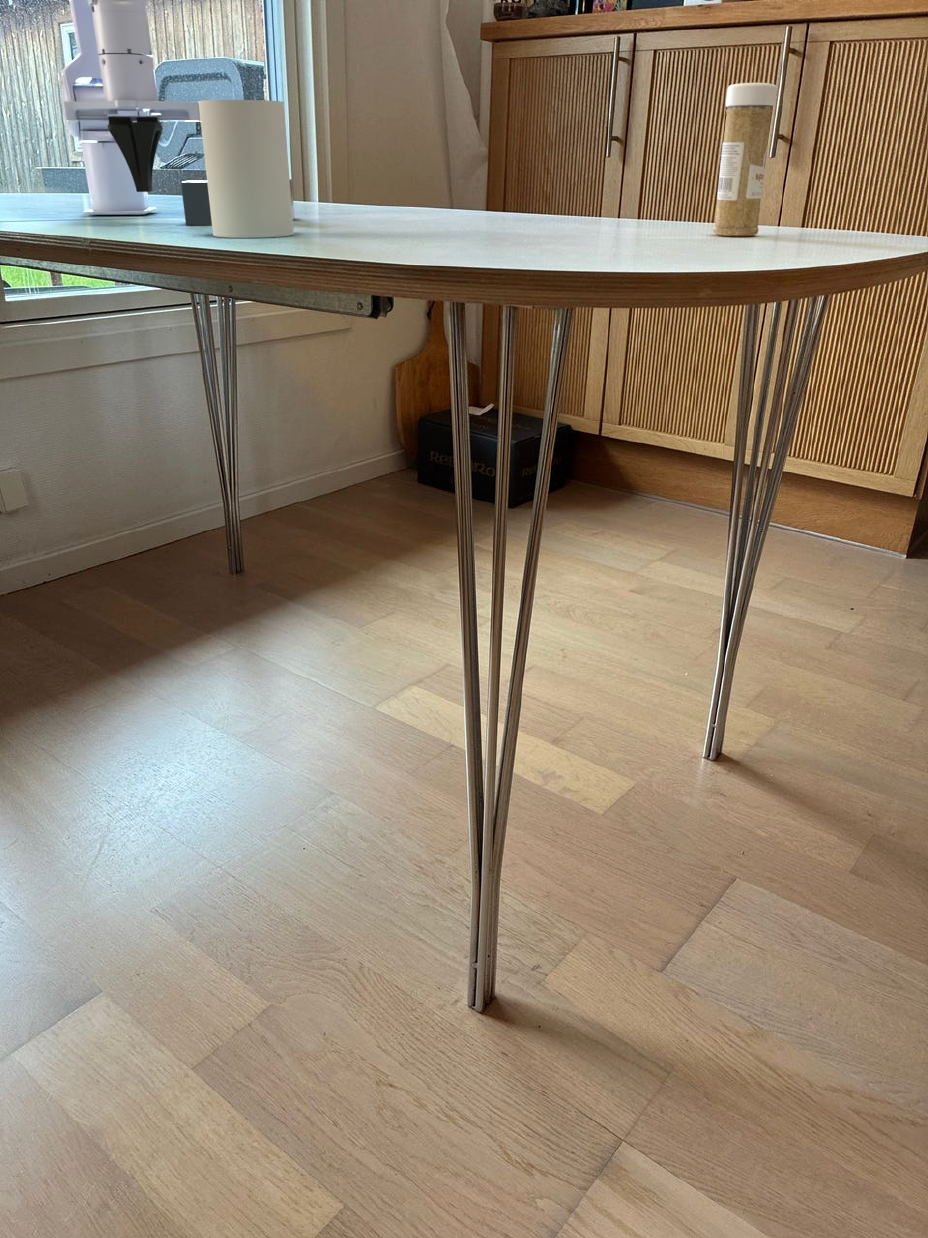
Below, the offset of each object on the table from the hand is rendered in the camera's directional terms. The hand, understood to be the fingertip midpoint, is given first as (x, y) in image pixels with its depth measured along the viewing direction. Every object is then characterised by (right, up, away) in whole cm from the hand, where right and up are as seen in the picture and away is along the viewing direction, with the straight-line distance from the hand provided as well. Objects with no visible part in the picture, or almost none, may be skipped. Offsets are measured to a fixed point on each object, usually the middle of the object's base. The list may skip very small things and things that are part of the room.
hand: (144, 191), depth 110 cm
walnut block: (+13, +1, +9) cm, 16 cm away
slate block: (+7, -3, +2) cm, 8 cm away
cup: (+16, -10, -13) cm, 23 cm away
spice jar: (+65, -11, -14) cm, 67 cm away
